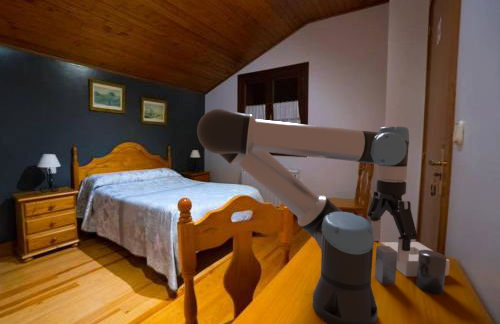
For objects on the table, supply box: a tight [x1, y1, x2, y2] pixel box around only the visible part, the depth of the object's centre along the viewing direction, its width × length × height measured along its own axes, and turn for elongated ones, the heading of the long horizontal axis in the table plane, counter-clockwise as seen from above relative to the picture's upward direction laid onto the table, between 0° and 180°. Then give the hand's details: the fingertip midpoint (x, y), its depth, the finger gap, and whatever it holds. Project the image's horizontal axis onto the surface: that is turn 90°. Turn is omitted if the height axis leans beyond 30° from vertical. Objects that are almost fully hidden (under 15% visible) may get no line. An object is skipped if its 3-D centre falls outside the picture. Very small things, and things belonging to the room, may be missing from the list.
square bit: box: [374, 245, 397, 286], centre depth 74 cm, size 4×4×10 cm
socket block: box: [380, 241, 451, 277], centre depth 84 cm, size 14×14×5 cm
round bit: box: [415, 249, 448, 296], centre depth 71 cm, size 6×6×10 cm
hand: (387, 249), depth 74 cm, fingers open, 13 cm apart
